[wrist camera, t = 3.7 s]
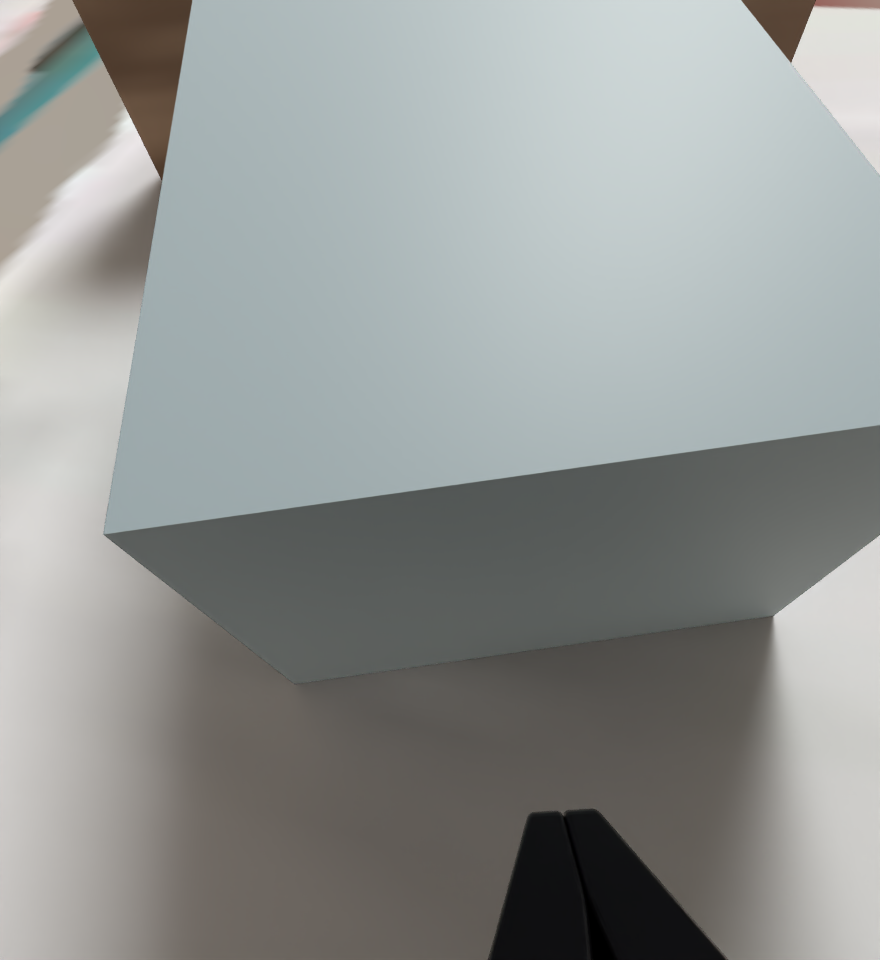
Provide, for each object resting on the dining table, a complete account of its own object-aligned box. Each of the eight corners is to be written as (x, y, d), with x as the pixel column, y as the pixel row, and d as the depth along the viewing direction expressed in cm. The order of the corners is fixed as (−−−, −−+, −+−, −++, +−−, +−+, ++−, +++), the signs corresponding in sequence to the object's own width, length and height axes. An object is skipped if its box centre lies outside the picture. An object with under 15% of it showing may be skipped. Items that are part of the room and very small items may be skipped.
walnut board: (759, 142, 25) (848, -83, 19) (169, 195, 25) (70, -5, 19) (741, 107, 26) (818, -115, 20) (179, 159, 27) (89, -40, 21)
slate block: (770, 617, 15) (1058, 399, 8) (296, 685, 15) (103, 534, 8) (605, 212, 24) (664, -96, 16) (293, 255, 23) (197, -34, 16)
